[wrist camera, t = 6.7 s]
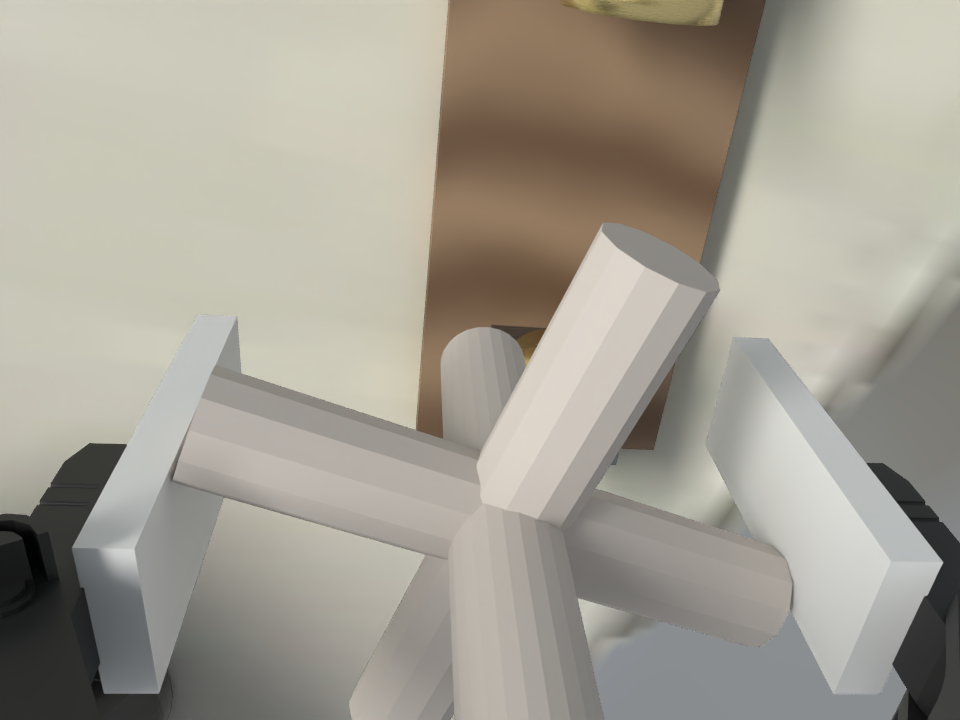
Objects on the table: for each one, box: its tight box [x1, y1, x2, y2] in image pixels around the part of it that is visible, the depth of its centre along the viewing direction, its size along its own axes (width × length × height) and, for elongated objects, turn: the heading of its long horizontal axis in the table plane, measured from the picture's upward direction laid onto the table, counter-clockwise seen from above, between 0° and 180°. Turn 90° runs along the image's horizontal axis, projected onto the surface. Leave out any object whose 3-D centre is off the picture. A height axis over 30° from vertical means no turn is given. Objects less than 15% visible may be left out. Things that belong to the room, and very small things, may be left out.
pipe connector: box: [173, 223, 793, 720], centre depth 13 cm, size 10×10×10 cm
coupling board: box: [416, 0, 765, 450], centre depth 35 cm, size 28×12×2 cm, turn 174°
